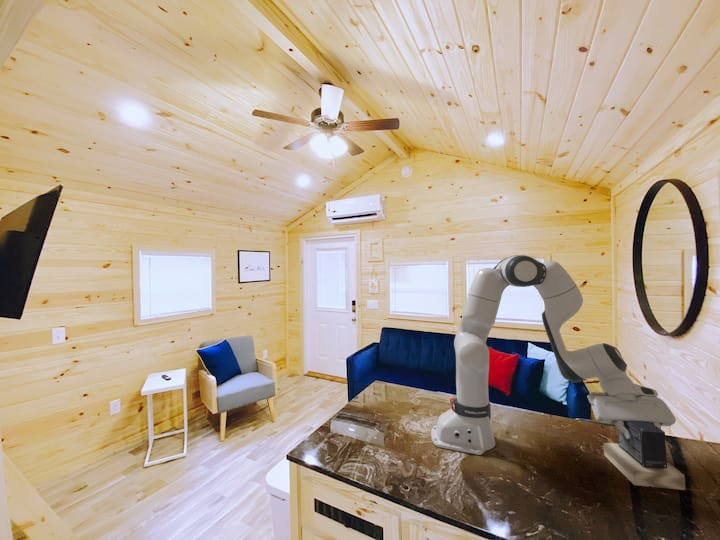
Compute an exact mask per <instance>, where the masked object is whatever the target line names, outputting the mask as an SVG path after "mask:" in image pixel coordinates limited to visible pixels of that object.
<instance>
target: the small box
mask: <svg viewBox="0 0 720 540" xmlns="http://www.w3.org/2000/svg"><path fill="white" fill-rule="evenodd" d="M623 423H624V425H623V426H624V427H625V428H626V429H627V430H628V431H631V432H632V434H633V436H634V439H626V437H625V435H624V433H622V432H621V431H620V430H619V429H618V428H617V430H618V444H619V447H620V448H622V449H623V450H624V451H625V452H626V453H627V454H629V455H630V456H631V457H632V458H633V459H635V460H636V461H637V462H638V463H639V464H640V465H642V466H643V467H655V468H667V462H668V457H667V448H666V447H667V446H666V445H667V444H666V432H665V431H664V430H663V429H662V428H661V429H659V428H658V427H656V426H655V425H653V424H651V423H650V422H643V421H623Z"/></svg>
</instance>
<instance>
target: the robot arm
mask: <svg viewBox="0 0 720 540" xmlns="http://www.w3.org/2000/svg"><path fill="white" fill-rule="evenodd" d="M509 286H511V287H517V288H526V287H528V288H529V287H531V286H533V287H534V288H535V289H536V290H537V291H538V294H539V295H540V297H541V299H542V301H543V303H544V310H543V312H542V313H541V319H542V323H543V326H544V331H545V332H546V335H547V338H548V340H549V344H550V346H551V349H552V353H553V354H554V358H555V362H556V366H557V368H558V372H559V374H560V375H561V376H562V377H563V379H565V380H567V381H570V382H572V383H575V384H576V383H579V382H583V381H587V380H590V379H593V378H597V379H598V381H599V386H600V388H601V390H602V392H594V391H593V392H590V393H588V394H587V399H588V402H589V404H590V405H591V409H592V412H593V415H594V419H595V420H596V421H597V422H598V423H600V424H612V425H613V424H614V425H615V427H616V428H617V430H618V429H619V430H620V431H621V432H622V433H624V435H625V437H626V439H634V436H633V434H632V432H631V431H628V430H627V429H626V428H625V427H624V426H623V425H624V423H623V421H643V422H650V423H651V424H653V425H655V426H656V427H658V428H659V429H661V430H662V427H671V426H673V425H674V424H675V423H676V416H675V415H674V413H673V412H672V410H671V408H670V407H669V406H668V404H666V402H665V401H664V400H663V399H661V398H660V397H658V396H659V393H658V391H657V390H656V389H655V388H651V387H646V386H643V385H639V384H637V383H634V382H633V380H632V379H631V378H630V377H629V376H628V374H627V368H628V365H627V363H626V362H625V360H624V358H623V356H622V354H621V352H620V350H619V349H618V348H617V347H615V346H614V345H611V344H608V343H598V344H597V343H596V344H594V345H589V346H586V347H583V348H579V349H576V350H571V351H570V350H567V348H566V345H565V342H564V340H563V337H562V334H561V331H560V330H561V328H562V326H563V325H564V324H565V323H566V322H567V321H568V320H570V319H571V318H572V317H574V316H575V315H576V314H577V313H578V312H579V311H580V309H581V307H582V306H583V303H584V297H583V295H582V293H581V290H580V288H579V287H578V285H577V284H576V282H575V280H574V279H573V278H572V277H571V275H570V274H569V273H568V271H567V270H566V269H565V268H564V267H563V265H561V264H560V263H559V262H557V261H555V260H547V261H542V262H540V261H538V260H537V259H535V258H533V257H531V256H529V255H524V254H523V255H522V254H519V255H518V254H515V255H510V256H507V257H505V258H503V259H501V260H500V261H499V262H498V263H497V264H496V265H495V266H494V267H493V268H490V267H484V268H481V269H478V270H477V272H476V273H475V276H474V278H473V280H472V282H471V284H470V288H469V290H468V295H467V299H466V301H465V305H464V309H463V312H462V317H461V319H460V322H459V324H458V327H457V331H456V333H455V336H454V340H453V347H454V352H455V387H456V398H455V397H454V396H450V397H449V403H450V404H451V406H450V409H448V410H447V411H444V412H443V413H441V414H439V417H438V419H437V424H435V425H434V426H432V428H431V431H430V432H431V433H430V434H431V435H430V438H431V441H432V443H433V444H434V445H435V447H437V448H440V449H447V450H453V451H456V452H457V451H458V452H462V453H463V452H464V453H467V454H473V455H477V456H481V455H483V454H484V453H485V452H487V451H490V450H492V449H493V448H495V446H496V439H495V436H494V433H493V429H492V423H491V416H492V407H491V403H490V400H489V373H490V372H489V371H490V350H489V347H488V345H487V340H488V338H489V335H490V332H491V330H492V328H493V326H494V324H495V323H496V318H497V315H498V311H499V308H500V304H501V300H502V297H503V293H504V291H505V290H506V288H508V287H509Z"/></svg>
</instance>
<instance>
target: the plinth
mask: <svg viewBox="0 0 720 540" xmlns="http://www.w3.org/2000/svg"><path fill="white" fill-rule="evenodd" d="M603 456H605V458H607V460H609V462H611V463H612V464H613V466H615V468H617V469H618V470H619V472H621V474H622V475H623V476H625V477H626V479H628V480H629V482H631V484H633V486H642V487H649V486H651V488H659V489H661V488H662V489H672V490H679V491H680V490H681V491H686V477H685V476H686V475H685V474H683V473H682V472H681V471H680V470H679V469H677V468H676V467H675V466H674V465H673V464H671V463H670V462H668V461H667V468H655V467H643V466H642V465H640V464H639V463H638V462H637V461H636V460H635V459H633V458H632V457H631V456H630V455H629V454H627V453H626V452H625V451H624V450H623V449H622V448H620V447H619V443H612V442H603Z"/></svg>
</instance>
